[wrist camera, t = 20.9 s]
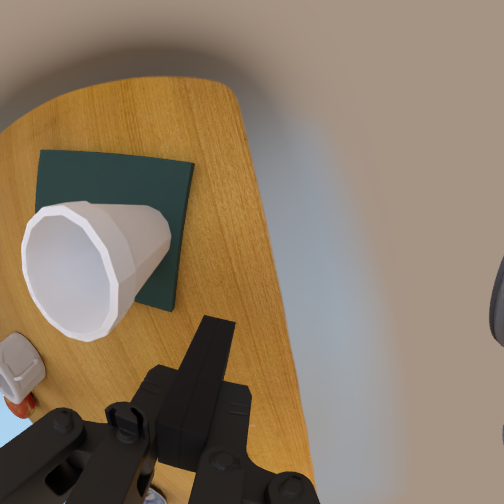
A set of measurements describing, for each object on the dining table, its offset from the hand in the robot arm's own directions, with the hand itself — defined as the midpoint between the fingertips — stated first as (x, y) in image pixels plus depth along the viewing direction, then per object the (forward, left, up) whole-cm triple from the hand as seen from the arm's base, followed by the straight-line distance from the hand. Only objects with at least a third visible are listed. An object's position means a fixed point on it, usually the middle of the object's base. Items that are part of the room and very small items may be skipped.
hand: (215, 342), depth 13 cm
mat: (+18, 0, -16) cm, 24 cm away
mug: (+37, +29, -16) cm, 49 cm away
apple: (+45, +45, -16) cm, 65 cm away
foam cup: (+11, 0, -15) cm, 18 cm away
